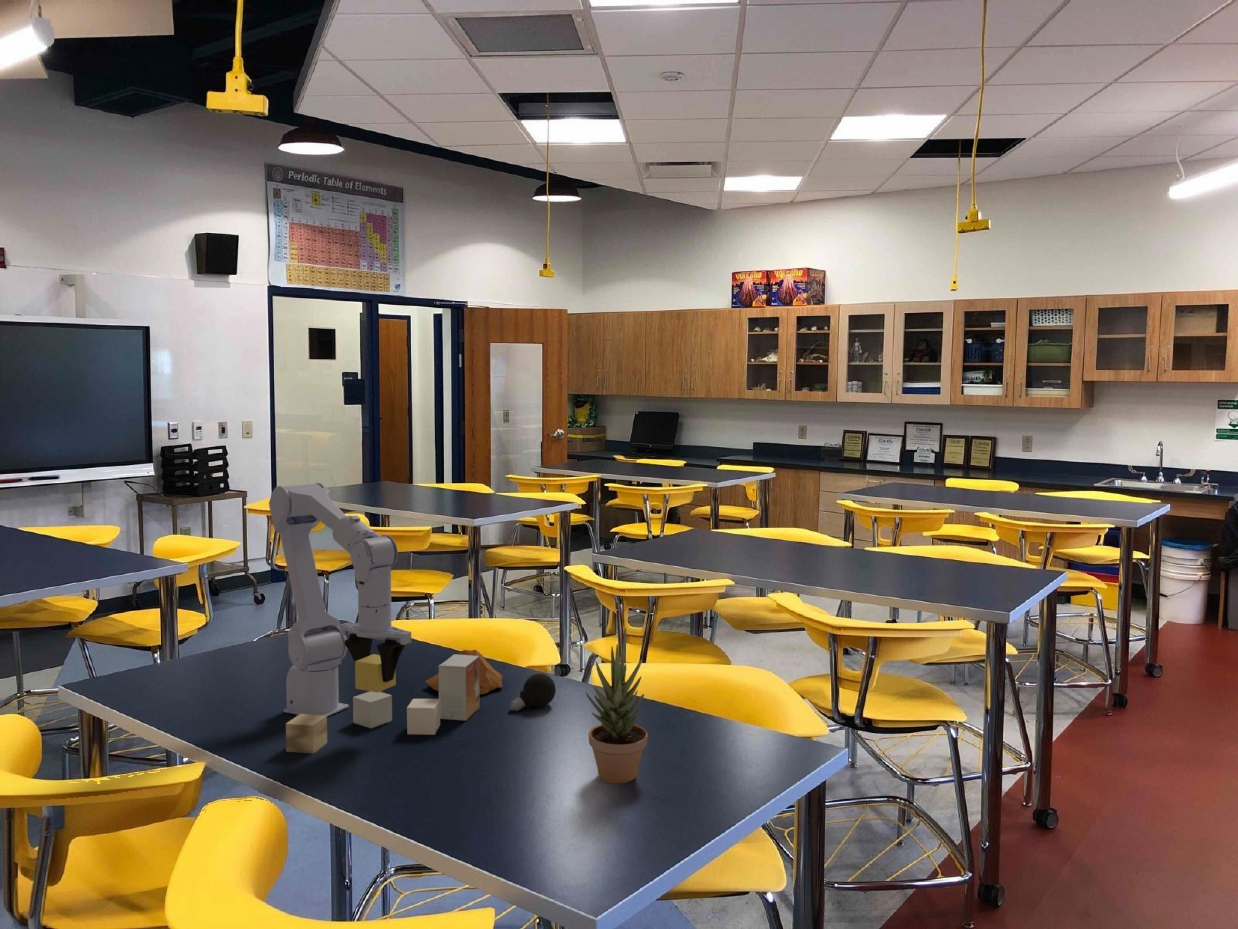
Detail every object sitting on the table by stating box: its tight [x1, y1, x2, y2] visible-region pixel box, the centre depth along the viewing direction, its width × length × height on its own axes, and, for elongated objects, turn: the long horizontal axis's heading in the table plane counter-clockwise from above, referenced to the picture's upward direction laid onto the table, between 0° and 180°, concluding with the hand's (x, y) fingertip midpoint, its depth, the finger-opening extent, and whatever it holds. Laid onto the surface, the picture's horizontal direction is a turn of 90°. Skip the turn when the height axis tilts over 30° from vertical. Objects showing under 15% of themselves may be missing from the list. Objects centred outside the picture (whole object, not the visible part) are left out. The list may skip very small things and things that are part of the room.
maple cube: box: [285, 714, 328, 754], centre depth 166 cm, size 5×5×5 cm
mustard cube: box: [354, 653, 397, 693], centre depth 171 cm, size 5×5×5 cm
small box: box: [438, 653, 481, 721], centre depth 183 cm, size 8×6×10 cm
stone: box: [425, 649, 504, 695], centre depth 198 cm, size 15×15×10 cm
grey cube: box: [352, 691, 393, 729], centre depth 178 cm, size 5×5×5 cm
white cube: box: [406, 698, 441, 736], centre depth 175 cm, size 5×5×5 cm
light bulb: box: [510, 673, 557, 712], centre depth 187 cm, size 6×6×10 cm
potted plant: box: [585, 627, 649, 784], centre depth 154 cm, size 10×10×25 cm
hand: (375, 678), depth 171 cm, fingers closed on mustard cube, 5 cm apart
